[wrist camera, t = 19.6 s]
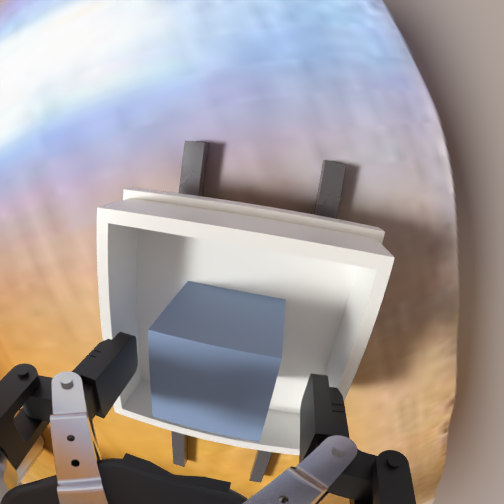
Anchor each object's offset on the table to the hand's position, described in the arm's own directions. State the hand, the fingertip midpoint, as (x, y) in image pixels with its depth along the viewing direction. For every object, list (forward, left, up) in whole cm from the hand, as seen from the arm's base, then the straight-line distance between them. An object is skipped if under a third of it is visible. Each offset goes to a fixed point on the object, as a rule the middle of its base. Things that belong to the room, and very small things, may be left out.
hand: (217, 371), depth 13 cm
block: (0, 0, -3) cm, 3 cm away
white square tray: (0, 0, -7) cm, 7 cm away
